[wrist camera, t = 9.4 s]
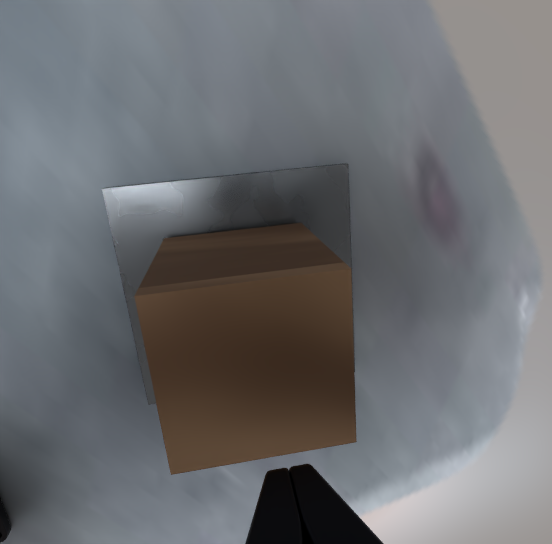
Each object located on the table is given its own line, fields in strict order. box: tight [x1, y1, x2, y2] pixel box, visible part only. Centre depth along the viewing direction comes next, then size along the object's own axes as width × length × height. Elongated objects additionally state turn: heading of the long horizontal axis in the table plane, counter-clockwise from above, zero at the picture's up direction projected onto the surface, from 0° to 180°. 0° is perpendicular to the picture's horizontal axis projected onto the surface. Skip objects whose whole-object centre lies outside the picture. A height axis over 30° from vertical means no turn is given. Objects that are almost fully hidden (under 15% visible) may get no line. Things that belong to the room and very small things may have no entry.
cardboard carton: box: [134, 223, 356, 475], centre depth 15 cm, size 6×6×7 cm
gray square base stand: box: [102, 163, 355, 404], centre depth 15 cm, size 10×10×7 cm
